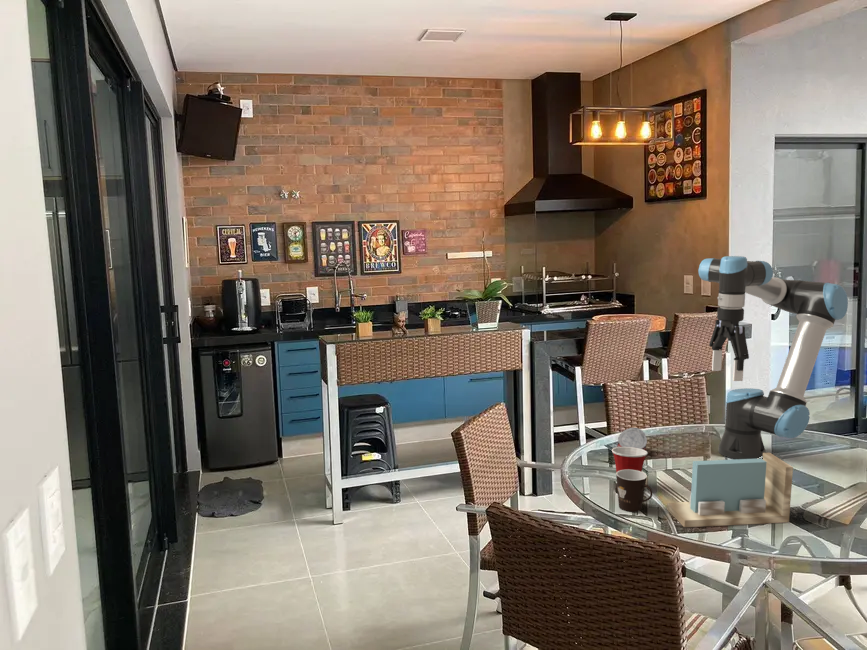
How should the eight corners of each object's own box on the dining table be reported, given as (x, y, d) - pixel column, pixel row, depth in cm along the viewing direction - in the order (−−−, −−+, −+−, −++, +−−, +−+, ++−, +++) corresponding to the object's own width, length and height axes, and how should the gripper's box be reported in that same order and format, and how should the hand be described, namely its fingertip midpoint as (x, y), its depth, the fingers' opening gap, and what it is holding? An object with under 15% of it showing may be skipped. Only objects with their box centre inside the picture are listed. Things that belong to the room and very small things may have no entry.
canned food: (645, 465, 263) (658, 444, 258) (626, 468, 257) (639, 447, 253) (624, 443, 271) (637, 423, 266) (605, 445, 265) (618, 425, 260)
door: (757, 505, 212) (760, 458, 210) (763, 509, 209) (766, 462, 207) (690, 508, 210) (692, 461, 208) (695, 512, 207) (697, 464, 205)
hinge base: (765, 504, 217) (769, 452, 214) (788, 522, 205) (793, 467, 203) (666, 509, 214) (669, 456, 212) (684, 527, 203) (687, 471, 200)
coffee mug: (611, 502, 220) (612, 470, 218) (639, 501, 220) (640, 468, 219) (624, 518, 208) (625, 484, 207) (654, 517, 209) (655, 483, 207)
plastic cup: (647, 482, 235) (648, 446, 233) (645, 495, 225) (646, 457, 223) (612, 478, 238) (613, 442, 236) (608, 490, 228) (609, 453, 226)
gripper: (700, 302, 237) (697, 366, 240) (739, 313, 212) (735, 385, 216) (723, 301, 238) (719, 366, 241) (764, 313, 213) (759, 385, 217)
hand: (726, 375), depth 229 cm, fingers open, 13 cm apart
